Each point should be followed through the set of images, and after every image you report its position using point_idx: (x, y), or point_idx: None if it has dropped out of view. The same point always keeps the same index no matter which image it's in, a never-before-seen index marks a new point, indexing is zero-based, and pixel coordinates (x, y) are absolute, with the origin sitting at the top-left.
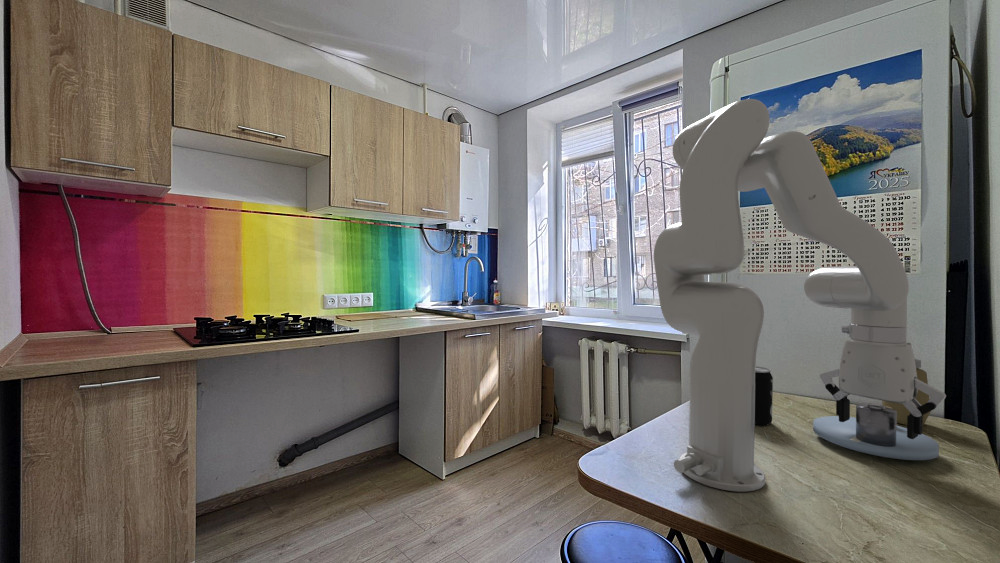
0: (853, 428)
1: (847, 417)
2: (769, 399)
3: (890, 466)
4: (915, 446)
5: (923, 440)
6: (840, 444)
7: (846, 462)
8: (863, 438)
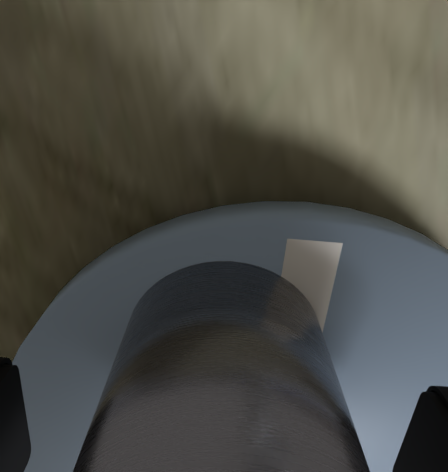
0: None
1: (411, 465)
2: None
3: (139, 203)
4: (64, 406)
5: None
6: (376, 219)
7: (309, 55)
8: (270, 280)
